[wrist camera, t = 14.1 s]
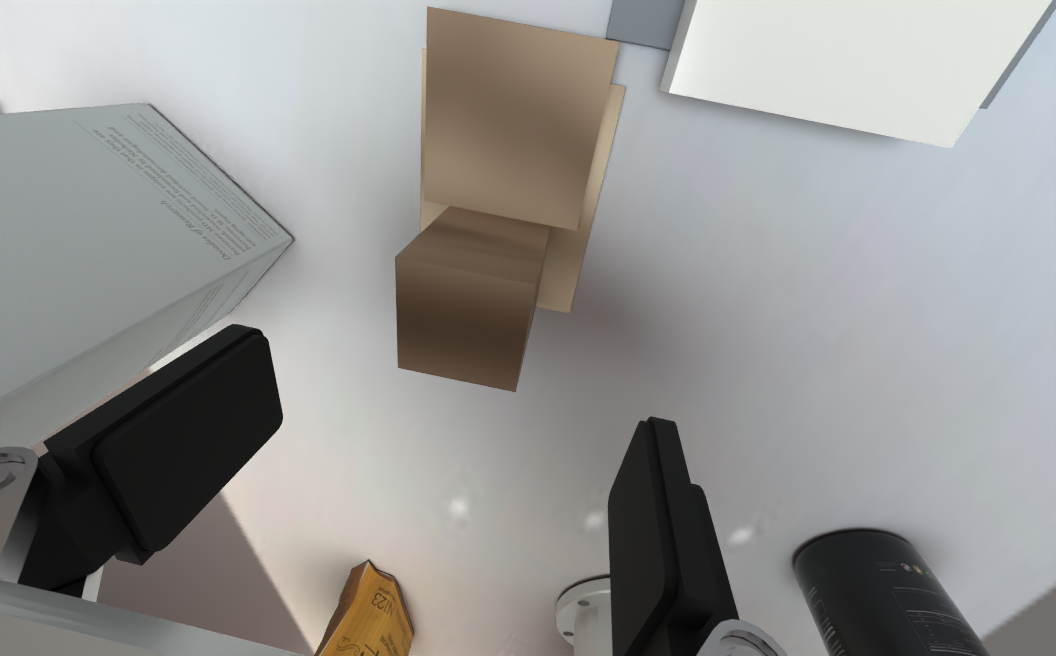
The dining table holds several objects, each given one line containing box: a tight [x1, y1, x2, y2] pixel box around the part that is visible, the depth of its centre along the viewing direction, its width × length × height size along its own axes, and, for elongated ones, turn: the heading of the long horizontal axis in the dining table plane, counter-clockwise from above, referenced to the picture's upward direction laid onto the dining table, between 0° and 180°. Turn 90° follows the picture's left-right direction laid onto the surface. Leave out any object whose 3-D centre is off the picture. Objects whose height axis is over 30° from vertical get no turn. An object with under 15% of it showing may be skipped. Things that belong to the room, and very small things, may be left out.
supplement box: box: [0, 103, 292, 448], centre depth 14 cm, size 7×7×13 cm
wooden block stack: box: [395, 6, 620, 392], centre depth 13 cm, size 10×6×6 cm, turn 171°
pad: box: [420, 48, 626, 314], centre depth 16 cm, size 9×7×1 cm
